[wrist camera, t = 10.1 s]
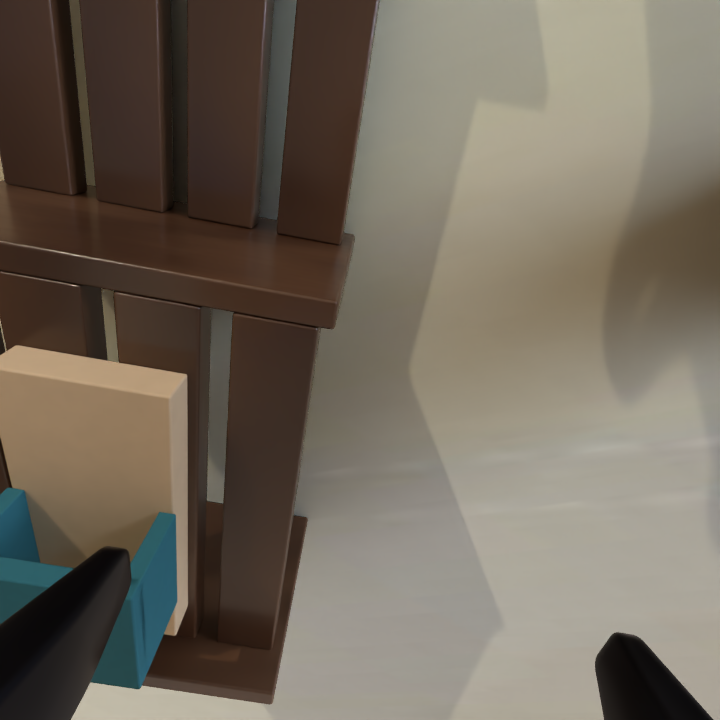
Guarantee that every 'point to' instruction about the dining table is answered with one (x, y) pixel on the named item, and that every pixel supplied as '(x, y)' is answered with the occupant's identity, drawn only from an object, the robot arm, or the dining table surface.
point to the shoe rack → (191, 264)
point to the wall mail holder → (96, 490)
